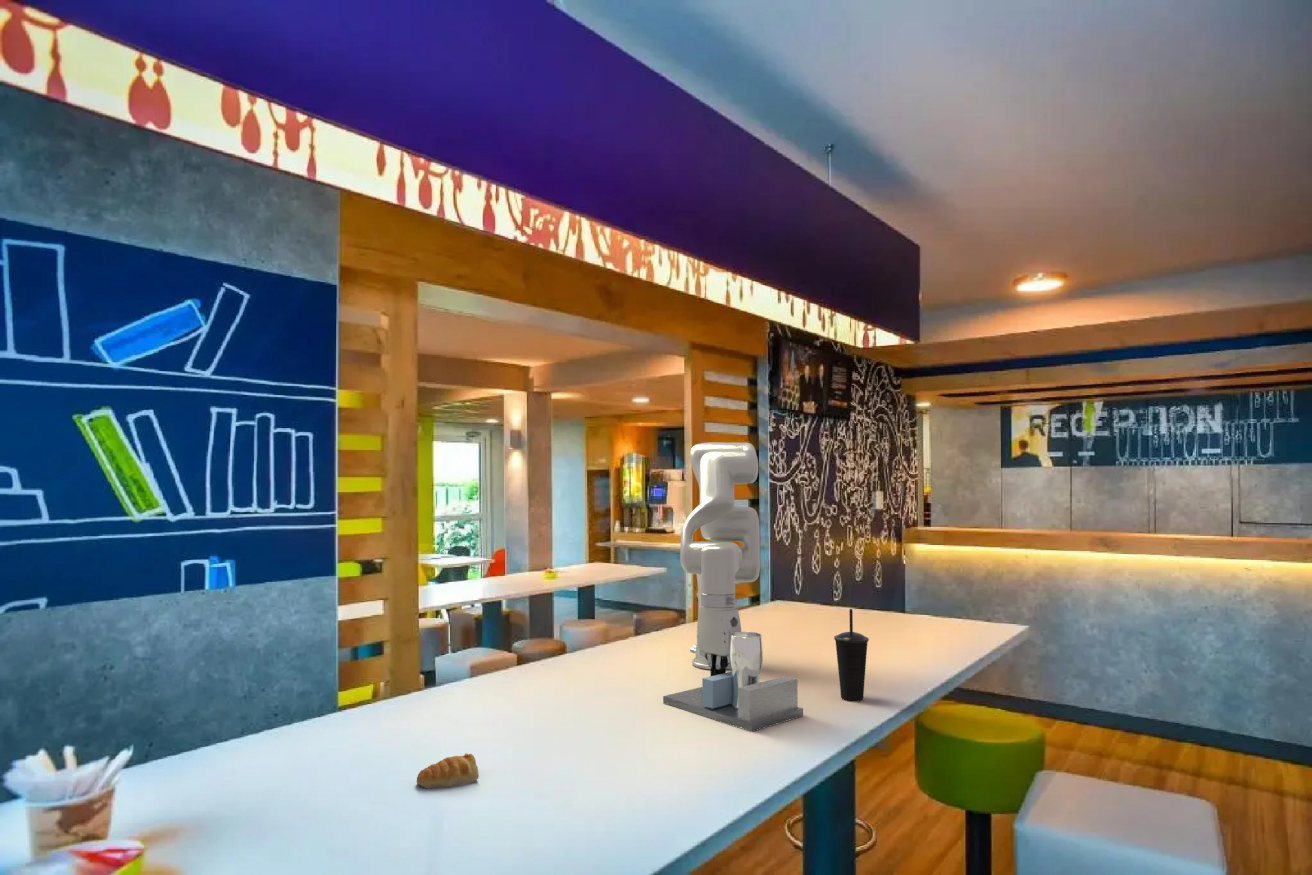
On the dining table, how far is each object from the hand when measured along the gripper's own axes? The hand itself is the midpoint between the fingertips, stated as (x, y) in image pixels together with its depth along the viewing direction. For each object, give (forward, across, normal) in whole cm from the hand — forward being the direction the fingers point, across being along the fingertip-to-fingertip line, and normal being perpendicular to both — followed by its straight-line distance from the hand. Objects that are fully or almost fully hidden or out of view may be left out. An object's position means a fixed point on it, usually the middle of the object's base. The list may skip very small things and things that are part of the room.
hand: (718, 685), depth 166 cm
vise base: (+4, -4, 0) cm, 6 cm away
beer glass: (+3, -8, 0) cm, 9 cm away
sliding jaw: (+2, -4, 0) cm, 4 cm away
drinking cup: (+4, -16, -27) cm, 32 cm away
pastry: (+5, -2, +64) cm, 64 cm away
